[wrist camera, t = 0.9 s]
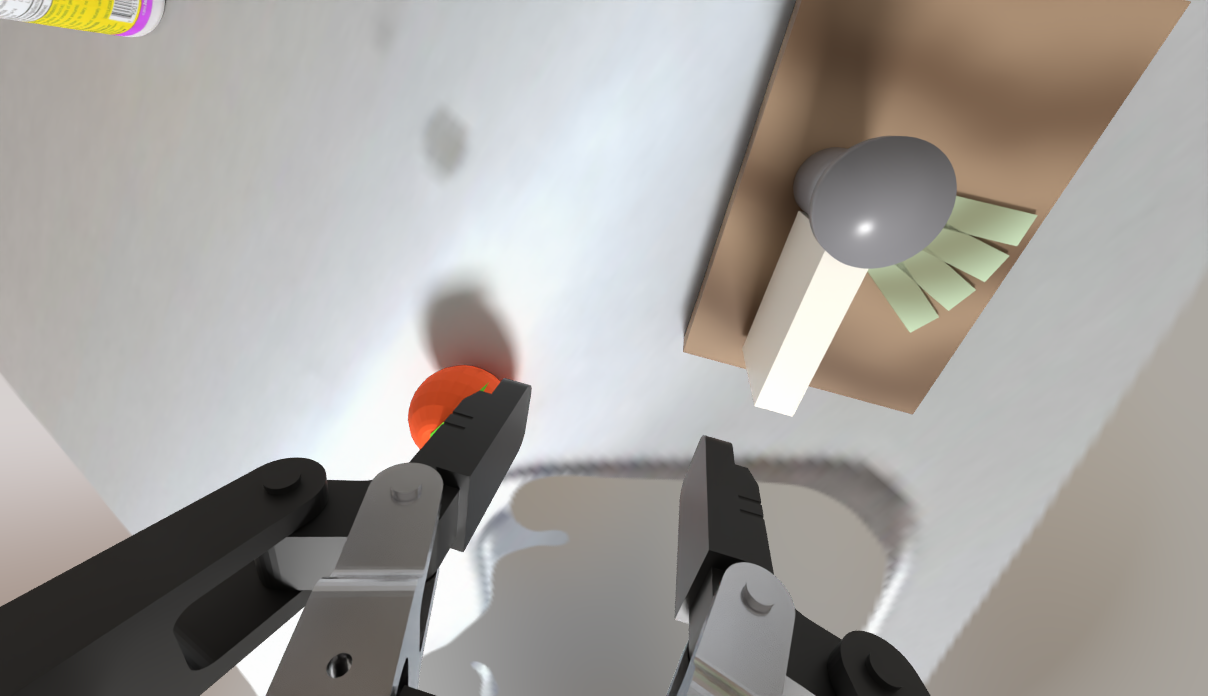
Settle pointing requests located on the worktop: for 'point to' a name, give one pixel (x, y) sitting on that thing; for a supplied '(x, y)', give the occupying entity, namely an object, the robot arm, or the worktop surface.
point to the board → (954, 125)
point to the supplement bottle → (88, 14)
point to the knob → (841, 252)
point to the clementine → (444, 398)
